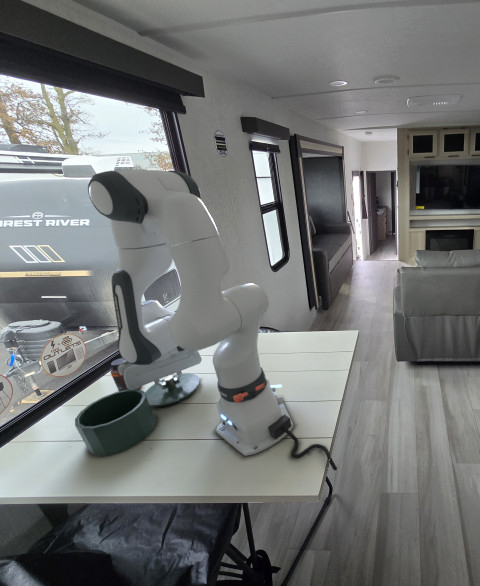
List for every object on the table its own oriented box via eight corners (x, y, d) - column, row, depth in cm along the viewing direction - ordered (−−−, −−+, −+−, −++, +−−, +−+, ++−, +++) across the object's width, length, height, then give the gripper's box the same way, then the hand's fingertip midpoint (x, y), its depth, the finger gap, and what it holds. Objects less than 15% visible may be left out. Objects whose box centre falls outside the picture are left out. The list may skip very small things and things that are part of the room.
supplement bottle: (146, 383, 107) (135, 356, 103) (131, 395, 102) (118, 367, 97) (130, 383, 108) (118, 355, 103) (115, 394, 102) (101, 366, 98)
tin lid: (206, 390, 102) (202, 377, 100) (148, 416, 92) (142, 402, 90) (193, 370, 113) (189, 358, 111) (140, 391, 103) (134, 378, 101)
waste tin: (160, 433, 87) (149, 406, 83) (91, 466, 77) (75, 438, 74) (151, 407, 96) (140, 382, 93) (88, 434, 87) (74, 407, 83)
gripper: (116, 368, 87) (133, 406, 93) (197, 340, 101) (207, 375, 106) (114, 359, 92) (130, 396, 97) (191, 334, 105) (202, 368, 110)
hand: (171, 385), depth 101 cm, fingers closed on tin lid, 2 cm apart
